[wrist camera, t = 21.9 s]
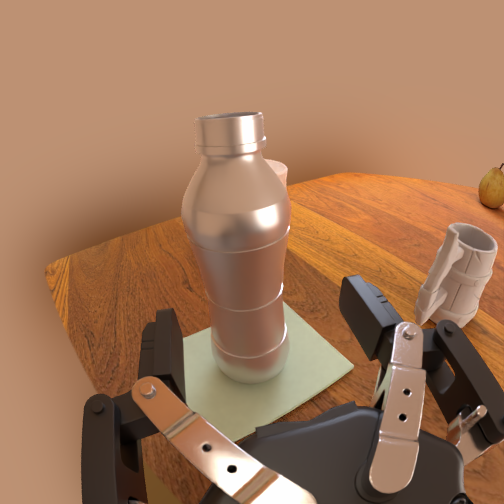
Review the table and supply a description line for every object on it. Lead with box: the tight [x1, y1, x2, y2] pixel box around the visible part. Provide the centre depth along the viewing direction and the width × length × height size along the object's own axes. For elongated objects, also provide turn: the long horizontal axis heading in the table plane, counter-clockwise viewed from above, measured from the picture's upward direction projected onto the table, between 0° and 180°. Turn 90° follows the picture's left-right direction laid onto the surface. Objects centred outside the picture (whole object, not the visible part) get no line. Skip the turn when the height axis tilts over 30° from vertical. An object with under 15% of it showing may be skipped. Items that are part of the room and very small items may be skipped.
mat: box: [183, 302, 354, 442], centre depth 24 cm, size 14×12×1 cm
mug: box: [414, 223, 498, 328], centre depth 24 cm, size 8×12×12 cm, turn 112°
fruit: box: [479, 163, 504, 208], centre depth 50 cm, size 9×9×12 cm
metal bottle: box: [181, 112, 291, 384], centre depth 19 cm, size 6×7×20 cm
